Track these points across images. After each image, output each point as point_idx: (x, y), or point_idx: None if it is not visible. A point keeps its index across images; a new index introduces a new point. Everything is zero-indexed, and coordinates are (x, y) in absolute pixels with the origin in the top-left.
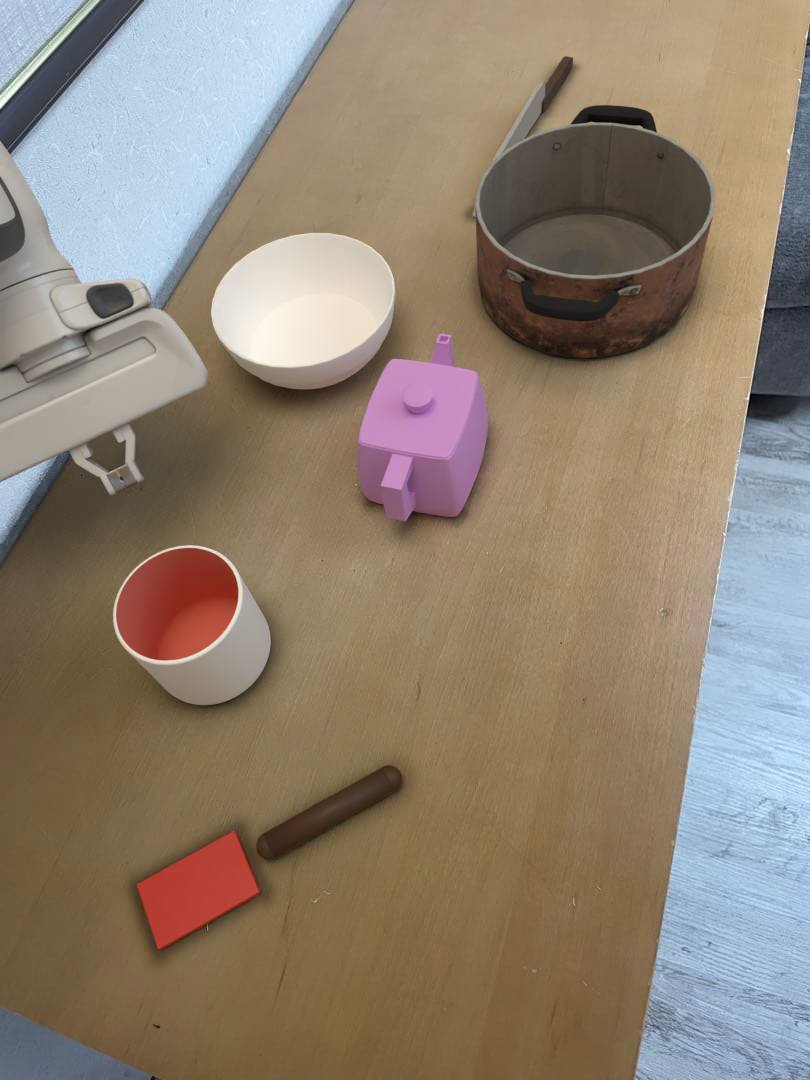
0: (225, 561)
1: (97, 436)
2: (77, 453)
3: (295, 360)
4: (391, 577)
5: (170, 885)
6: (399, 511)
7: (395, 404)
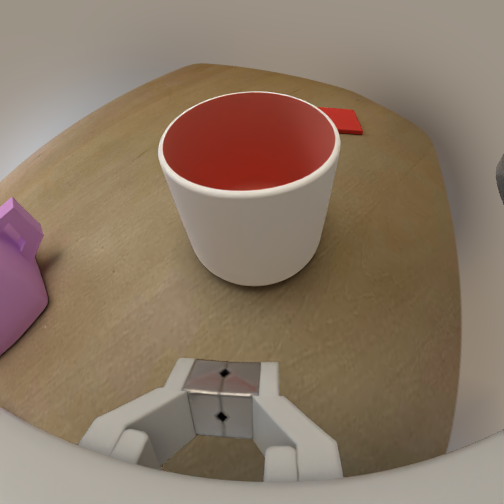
0: (162, 149)
1: (188, 475)
2: (314, 470)
3: None
4: (89, 227)
5: (342, 123)
6: (33, 219)
7: None
